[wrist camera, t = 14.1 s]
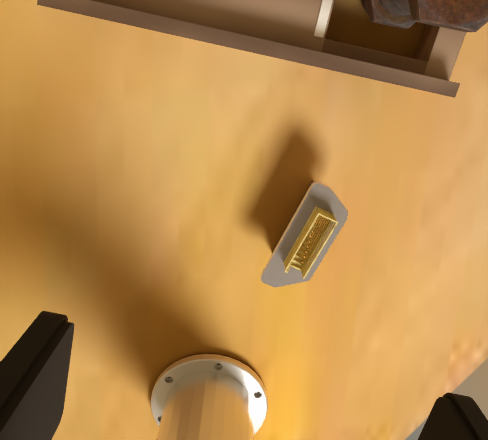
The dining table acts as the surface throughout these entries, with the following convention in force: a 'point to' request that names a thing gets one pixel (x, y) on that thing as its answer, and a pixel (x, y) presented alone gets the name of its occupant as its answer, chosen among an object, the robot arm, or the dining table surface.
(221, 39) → the brown wooden long tray
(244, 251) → the dining table surface
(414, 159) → the dining table surface
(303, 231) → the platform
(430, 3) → the bolt
